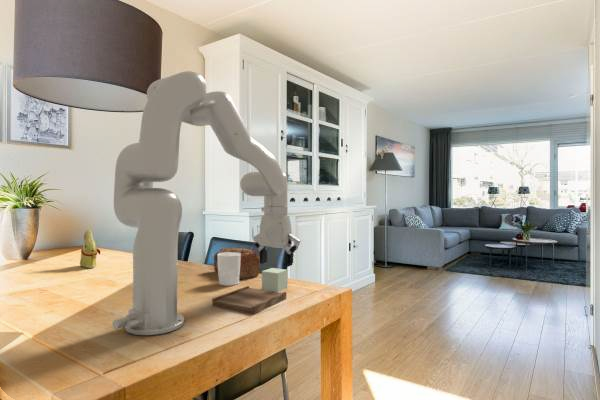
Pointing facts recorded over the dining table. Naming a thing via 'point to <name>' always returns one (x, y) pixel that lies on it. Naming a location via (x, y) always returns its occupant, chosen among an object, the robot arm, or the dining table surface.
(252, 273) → the bread
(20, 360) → the dining table surface
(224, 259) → the white cup
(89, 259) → the asparagus bundle
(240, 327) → the dining table surface
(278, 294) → the board
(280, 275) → the sage block
